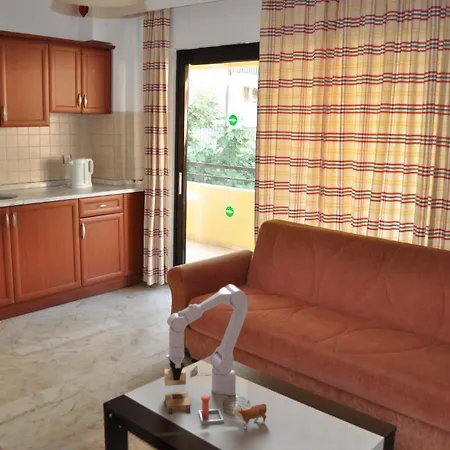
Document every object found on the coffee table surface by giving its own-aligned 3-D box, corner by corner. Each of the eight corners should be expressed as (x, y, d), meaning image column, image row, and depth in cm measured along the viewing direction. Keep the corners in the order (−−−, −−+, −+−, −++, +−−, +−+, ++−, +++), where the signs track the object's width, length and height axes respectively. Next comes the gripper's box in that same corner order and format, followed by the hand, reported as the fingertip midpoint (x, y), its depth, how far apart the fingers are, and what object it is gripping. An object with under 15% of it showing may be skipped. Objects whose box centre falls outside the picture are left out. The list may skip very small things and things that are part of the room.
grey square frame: (219, 413, 209) (219, 408, 209) (223, 425, 201) (223, 420, 201) (198, 415, 207) (198, 410, 207) (201, 426, 200) (201, 421, 199)
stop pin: (204, 414, 207) (205, 394, 205) (211, 417, 205) (211, 397, 203) (199, 417, 205) (199, 397, 203) (205, 420, 203) (205, 400, 201)
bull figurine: (230, 425, 201) (231, 405, 200) (263, 418, 206) (264, 398, 205) (235, 432, 197) (236, 411, 196) (269, 424, 202) (270, 404, 201)
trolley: (186, 396, 221) (187, 389, 220) (191, 414, 208) (191, 407, 207) (164, 398, 219) (164, 390, 218) (167, 416, 206) (167, 408, 205)
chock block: (184, 379, 220) (184, 367, 219) (185, 384, 216) (185, 372, 215) (164, 381, 218) (164, 369, 217) (165, 385, 214) (165, 373, 213)
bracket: (211, 383, 233) (211, 376, 232) (190, 379, 237) (190, 371, 236) (217, 377, 239) (217, 369, 238) (196, 372, 242) (196, 365, 242)
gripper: (164, 337, 220) (164, 369, 223) (167, 352, 206) (167, 386, 209) (182, 336, 222) (182, 368, 224) (186, 351, 208) (185, 385, 210)
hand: (176, 377), depth 217 cm, fingers closed on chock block, 4 cm apart
